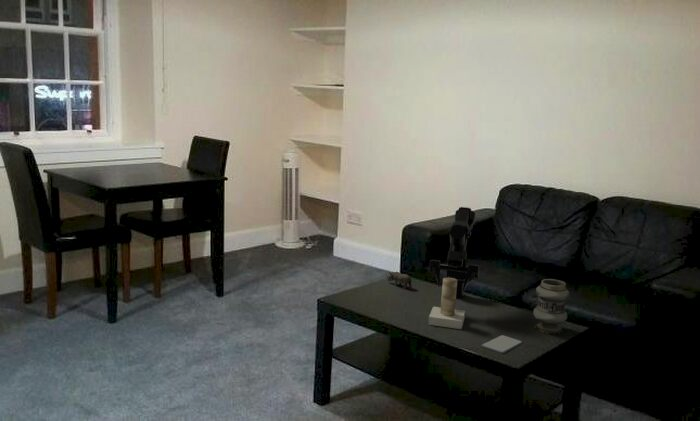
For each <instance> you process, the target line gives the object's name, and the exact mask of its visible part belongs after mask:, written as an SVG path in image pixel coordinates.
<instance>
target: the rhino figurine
mask: <svg viewBox="0 0 700 421" xmlns="http://www.w3.org/2000/svg"><path fill="white" fill-rule="evenodd" d="M388 274H389V275H387V274H386V278H387V282H391V281H392V282H393V281H394V285H393V286H394V287H398V286H402V285H403V287H402V290H407V287H408V286H409V287H408V290H413V288H412V278H411V276H410V275H409V274H406V273H401V272H400V271H392V272H389V271H388ZM398 283H399V284H398Z"/></svg>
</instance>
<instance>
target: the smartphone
mask: <svg viewBox="0 0 700 421" xmlns="http://www.w3.org/2000/svg"><path fill="white" fill-rule="evenodd" d="M521 344H523V341H522V340H519V339H516V338H512V337H510V336H507V335H502V334H500V335H499V336H496V337H495V338H493V339H490V340H489V341H487V342H484V343H483V344H481V345H480V346H481V348H483V349H487V350H489V351H491V352H495V353H498V354H501V355H503V354H505V353H507V352H509V351H510V350H513V349H514V348H516V347H518V346H519V345H521Z"/></svg>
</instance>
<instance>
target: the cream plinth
mask: <svg viewBox="0 0 700 421" xmlns="http://www.w3.org/2000/svg"><path fill="white" fill-rule="evenodd" d="M440 311H441V306H440V307H439V306H432V309H431V311H430V312H429V313H430V314H429V315H428V323H427V325H428V326H436V327H442V328H451V329H457V330H462V329H463V325H464V322H465V315H466V311H465V310H463V309H461V310H460V309H455V314H454V315H453V316H445V315H442V314H440Z"/></svg>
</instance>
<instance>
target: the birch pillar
mask: <svg viewBox="0 0 700 421" xmlns="http://www.w3.org/2000/svg"><path fill="white" fill-rule="evenodd" d="M441 286H442V287H441V299H440V308H441V311H440V314H442V315H445V316H453V315H454V314H455V310H456V301H457V300H456V299H457V298H456V290H457V279H454V278H446V277H443V278H442V285H441Z"/></svg>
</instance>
